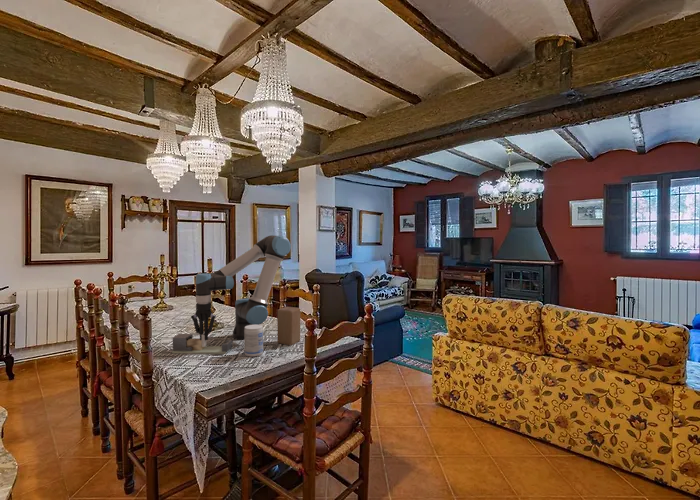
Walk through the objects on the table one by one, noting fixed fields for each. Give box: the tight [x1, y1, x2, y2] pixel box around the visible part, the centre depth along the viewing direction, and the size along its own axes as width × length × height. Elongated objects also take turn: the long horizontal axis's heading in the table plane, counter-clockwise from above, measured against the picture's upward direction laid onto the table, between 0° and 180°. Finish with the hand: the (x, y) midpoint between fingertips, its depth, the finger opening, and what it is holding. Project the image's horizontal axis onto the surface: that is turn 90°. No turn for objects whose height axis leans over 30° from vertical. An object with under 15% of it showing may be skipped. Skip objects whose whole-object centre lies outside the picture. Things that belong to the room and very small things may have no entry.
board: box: [171, 345, 228, 355], centre depth 194 cm, size 28×9×1 cm, turn 90°
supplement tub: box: [243, 324, 264, 358], centre depth 189 cm, size 10×10×15 cm
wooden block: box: [276, 306, 301, 346], centre depth 209 cm, size 10×10×20 cm
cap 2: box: [221, 339, 233, 353], centre depth 193 cm, size 3×8×4 cm, turn 0°
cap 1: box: [172, 333, 193, 351], centre depth 193 cm, size 10×8×7 cm
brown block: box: [187, 338, 204, 350], centre depth 193 cm, size 8×4×5 cm, turn 90°
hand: (204, 345), depth 193 cm, fingers closed
